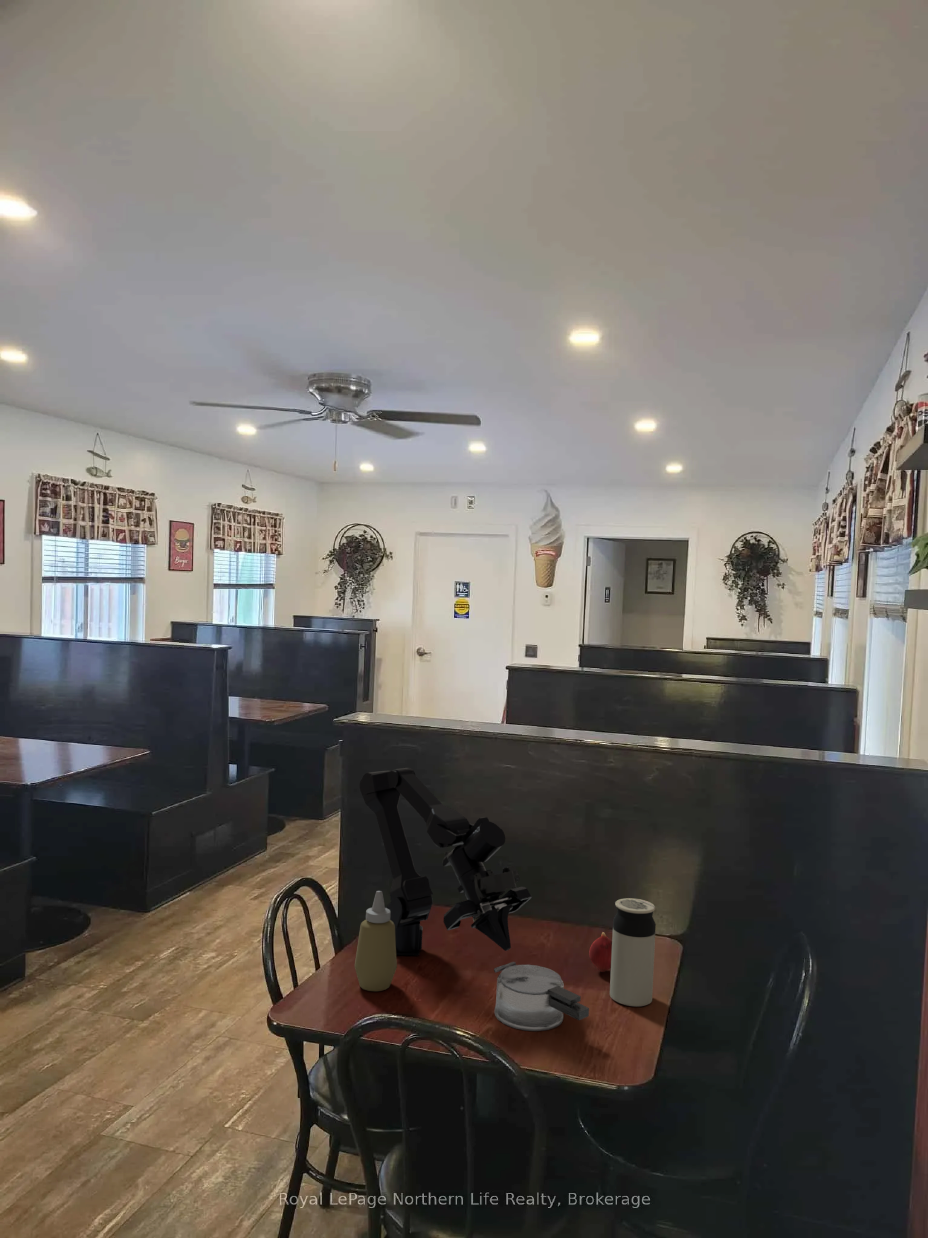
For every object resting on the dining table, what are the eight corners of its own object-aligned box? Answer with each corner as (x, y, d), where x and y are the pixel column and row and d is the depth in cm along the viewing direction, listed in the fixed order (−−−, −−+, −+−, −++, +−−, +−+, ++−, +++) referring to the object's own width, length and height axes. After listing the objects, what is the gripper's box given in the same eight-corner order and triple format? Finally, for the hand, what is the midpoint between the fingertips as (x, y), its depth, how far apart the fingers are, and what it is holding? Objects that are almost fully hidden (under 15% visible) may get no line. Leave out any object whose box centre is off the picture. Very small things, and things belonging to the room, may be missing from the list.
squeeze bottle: (402, 981, 165) (406, 889, 165) (385, 998, 158) (390, 901, 158) (364, 974, 168) (369, 883, 168) (346, 990, 160) (350, 894, 160)
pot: (480, 1011, 154) (481, 978, 154) (527, 993, 162) (529, 962, 162) (558, 1053, 140) (559, 1017, 140) (605, 1032, 149) (607, 997, 149)
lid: (482, 975, 155) (482, 971, 155) (523, 961, 163) (523, 957, 163) (554, 1011, 142) (554, 1007, 142) (595, 994, 150) (596, 990, 150)
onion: (622, 972, 174) (624, 933, 174) (606, 980, 170) (608, 940, 170) (598, 964, 178) (600, 925, 178) (582, 971, 174) (584, 932, 174)
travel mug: (625, 1010, 157) (629, 913, 157) (601, 992, 165) (606, 899, 165) (660, 1004, 160) (665, 909, 160) (635, 987, 168) (640, 896, 168)
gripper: (457, 860, 156) (495, 940, 148) (527, 845, 168) (566, 918, 160) (427, 890, 162) (462, 969, 153) (497, 874, 174) (533, 946, 166)
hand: (508, 949), depth 158 cm, fingers closed
